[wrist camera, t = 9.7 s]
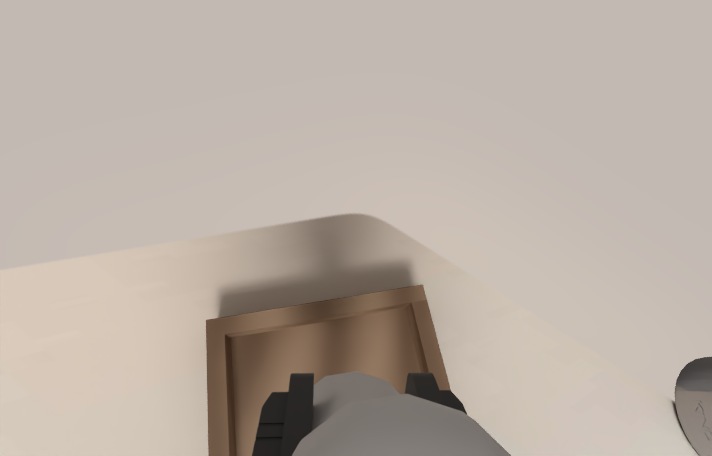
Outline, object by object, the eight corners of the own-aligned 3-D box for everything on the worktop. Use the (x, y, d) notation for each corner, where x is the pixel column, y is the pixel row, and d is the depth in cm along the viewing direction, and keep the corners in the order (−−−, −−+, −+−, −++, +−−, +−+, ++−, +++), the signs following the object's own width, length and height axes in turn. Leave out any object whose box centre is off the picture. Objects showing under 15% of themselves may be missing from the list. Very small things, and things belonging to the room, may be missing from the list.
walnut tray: (413, 293, 30) (422, 284, 27) (471, 524, 24) (491, 543, 21) (217, 326, 27) (206, 320, 25) (225, 595, 21) (211, 626, 19)
